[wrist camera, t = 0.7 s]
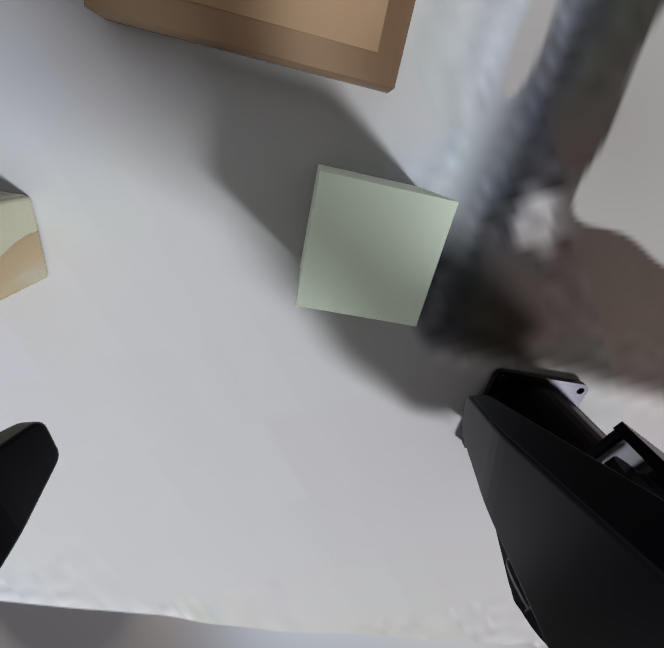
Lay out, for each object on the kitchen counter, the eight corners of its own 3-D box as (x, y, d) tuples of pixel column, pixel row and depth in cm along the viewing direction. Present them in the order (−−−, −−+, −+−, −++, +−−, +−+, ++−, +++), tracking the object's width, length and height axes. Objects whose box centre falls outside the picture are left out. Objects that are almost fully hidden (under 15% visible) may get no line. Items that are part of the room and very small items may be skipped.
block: (415, 185, 18) (458, 202, 13) (388, 279, 20) (416, 326, 15) (318, 163, 18) (320, 170, 12) (300, 262, 20) (295, 305, 14)
